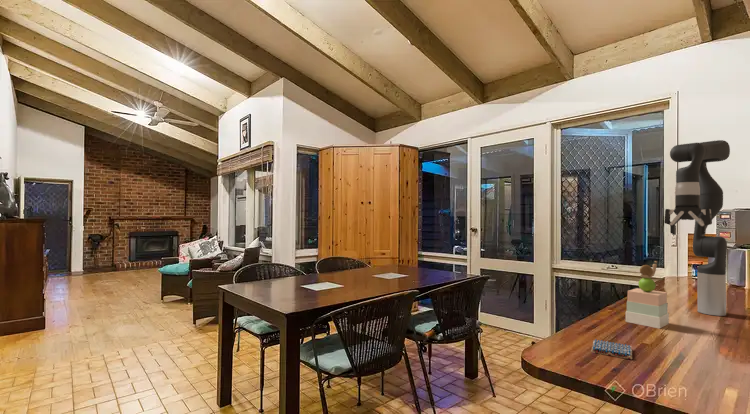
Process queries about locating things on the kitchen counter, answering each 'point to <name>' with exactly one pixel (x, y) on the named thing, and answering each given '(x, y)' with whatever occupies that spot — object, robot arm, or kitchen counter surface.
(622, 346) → the woven mat
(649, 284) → the snail figurine
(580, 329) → the kitchen counter surface
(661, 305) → the stacked pastel boxes
